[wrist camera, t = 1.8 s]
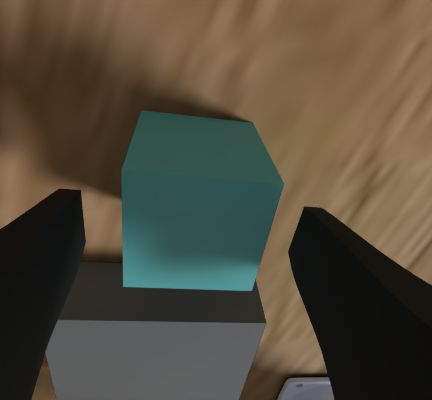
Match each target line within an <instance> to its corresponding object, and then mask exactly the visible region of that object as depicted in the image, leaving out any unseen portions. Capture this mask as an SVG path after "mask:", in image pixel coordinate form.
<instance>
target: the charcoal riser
mask: <svg viewBox="0 0 432 400" xmlns="http://www.w3.org/2000/svg"><path fill="white" fill-rule="evenodd" d="M265 326H266V319H265V315H264V311H263V307H262V303H261V299H260V295H259V291H258V287H257V283H256V279H255V282H254V285H253V289H252V291H235V290H204V289H173V288H142V287H123V263H105V262H80V266H79V269H78V272H77V275H76V277H75V279H74V282H73V284H72V287H71V289H70V292H69V294H68V297H67V299H66V301H65V304H64V306H63V309H62V311H61V313H60V316H59V318H58V321H57V323H56V325H55V328H54V330H53V333H52V335H51V338H50V340H49V343H48V346H47V349H46V351H45V353H46V358H47V362H48V366H49V370H50V374H51V378H52V382H53V386H54V391H55V395H56V399H57V400H239V397H240V395H241V392H242V389H243V387H244V384H245V381H246V378H247V376H248V373H249V370H250V367H251V365H252V362H253V359H254V356H255V354H256V351H257V348H258V345H259V343H260V340H261V337H262V334H263V332H264V329H265Z"/></svg>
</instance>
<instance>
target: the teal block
mask: <svg viewBox="0 0 432 400" xmlns="http://www.w3.org/2000/svg"><path fill="white" fill-rule="evenodd" d="M121 174H122V240H123V287H142V288H173V289H204V290H235V291H252V289H253V285H254V282H255V279H256V275H257V272H258V269H259V265H260V262H261V259H262V255H263V252H264V249H265V245H266V242H267V239H268V235H269V232H270V229H271V226H272V222H273V219H274V216H275V212H276V209H277V206H278V202H279V199H280V196H281V192H282V189H283V186H284V183H283V181H282V179H281V177H280V175H279V173H278V171H277V169H276V167H275V165H274V163H273V161H272V159H271V157H270V155H269V154H268V152H267V150H266V148H265V146H264V144H263V142H262V140H261V138H260V136H259V134H258V132H257V130H256V128H255V126H254V124H253V123H250V122H242V121H233V120H224V119H215V118H206V117H198V116H189V115H180V114H171V113H162V112H153V111H145V110H141V113H140V116H139V119H138V122H137V125H136V128H135V131H134V134H133V137H132V140H131V143H130V146H129V149H128V152H127V155H126V158H125V161H124V164H123V167H122V170H121Z"/></svg>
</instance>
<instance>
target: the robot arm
mask: <svg viewBox="0 0 432 400" xmlns="http://www.w3.org/2000/svg"><path fill="white" fill-rule="evenodd" d="M85 242H86V240H85V229H84V219H83V209H82V199H81V190H70V189H58V190H57V191H55V192H54V193H52V194H51V195H49V196H48V197H47V198H45V199H44V200H42V201H41V202H39V203H38V204H37V205H35V206H34V207H32V208H31V209H30V210H28V211H27V212H25V213H24V214H22V215H21V216H19V217H18V218H17V219H15V220H14V221H12V222H11V223H9V224H8V225H6V226H5V227H3V228H1V229H0V400H31V399H32V395H33V392H34V388H35V385H36V381H37V378H38V375H39V371H40V368H41V365H42V361H43V358H44V355H45V351H46V349H47V346H48V343H49V340H50V338H51V335H52V333H53V330H54V328H55V325H56V323H57V321H58V318H59V316H60V313H61V311H62V309H63V306H64V304H65V301H66V299H67V297H68V294H69V292H70V289H71V287H72V284H73V282H74V279H75V277H76V275H77V272H78V269H79V266H80V262H81V258H82V254H83V250H84V246H85ZM288 253H289V258H290V263H291V267H292V272H293V276H294V279H295V282H296V285H297V287H298V290H299V293H300V295H301V298H302V300H303V303H304V306H305V308H306V311H307V313H308V316H309V318H310V321H311V324H312V326H313V329H314V331H315V334H316V336H317V339H318V342H319V345H320V348H321V351H322V354H323V358H324V362H325V365H326V369H327V373H328V376H329V377H310V378H289V379H288V380H287V381H286V382H285V384H284V386H283V388H282V390H281V392H280V394H279V396H278V399H277V400H432V285H430V284H428V283H427V282H425V281H423V280H422V279H420V278H419V277H417V276H415V275H414V274H412V273H411V272H409V271H408V270H406V269H404V268H403V267H402V266H400V265H399V264H397V263H396V262H394V261H393V260H391V259H390V258H389V257H387V256H386V255H384V254H383V253H382V252H380V251H379V250H377V249H376V248H375V247H373V246H372V245H371V244H369V243H368V242H367V241H365V240H364V239H363V238H361V237H360V236H359V235H358V234H356V233H355V232H354V231H352V230H351V229H350V228H349V227H347V226H346V225H345V224H343V223H342V222H341V221H339V220H338V219H337V218H335V217H334V216H333V215H331V214H330V213H328V212H327V211H326V210H324V209H322V208H317V207H304V209H303V212H302V214H301V217H300V220H299V223H298V226H297V228H296V231H295V234H294V237H293V239H292V242H291V245H290V248H289V251H288Z"/></svg>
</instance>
